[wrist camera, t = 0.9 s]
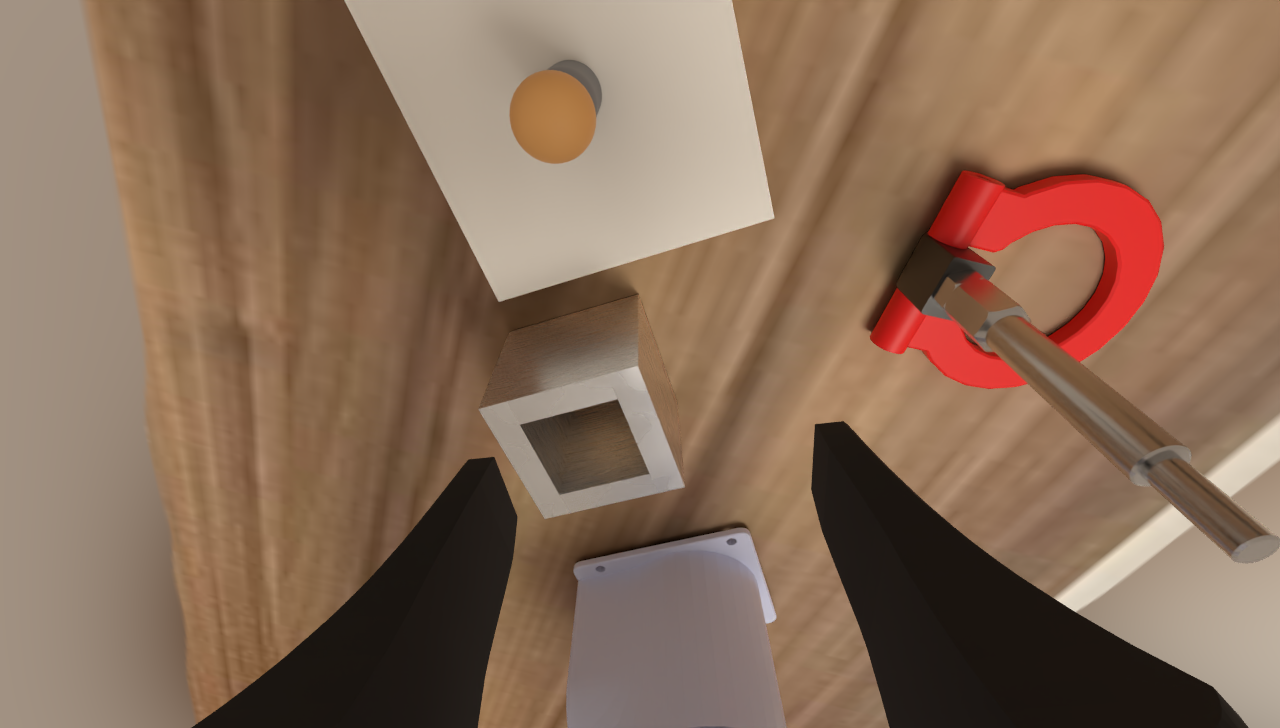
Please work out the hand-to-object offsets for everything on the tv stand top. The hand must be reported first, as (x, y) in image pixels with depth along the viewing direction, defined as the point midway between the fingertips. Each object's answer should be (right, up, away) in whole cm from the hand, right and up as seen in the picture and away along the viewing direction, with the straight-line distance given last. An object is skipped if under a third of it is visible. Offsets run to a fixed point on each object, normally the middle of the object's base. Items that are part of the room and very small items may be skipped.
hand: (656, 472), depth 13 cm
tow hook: (+14, +6, +9) cm, 17 cm away
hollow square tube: (-2, +2, +10) cm, 11 cm away
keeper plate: (-2, +11, +5) cm, 12 cm away
